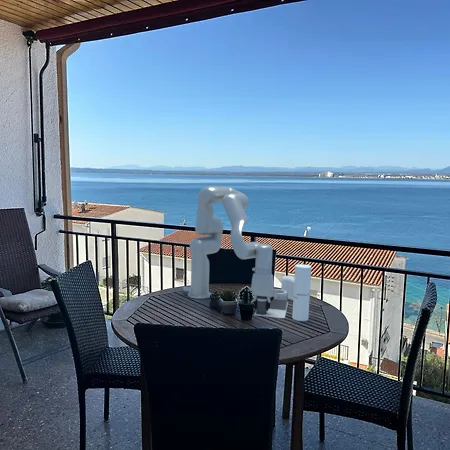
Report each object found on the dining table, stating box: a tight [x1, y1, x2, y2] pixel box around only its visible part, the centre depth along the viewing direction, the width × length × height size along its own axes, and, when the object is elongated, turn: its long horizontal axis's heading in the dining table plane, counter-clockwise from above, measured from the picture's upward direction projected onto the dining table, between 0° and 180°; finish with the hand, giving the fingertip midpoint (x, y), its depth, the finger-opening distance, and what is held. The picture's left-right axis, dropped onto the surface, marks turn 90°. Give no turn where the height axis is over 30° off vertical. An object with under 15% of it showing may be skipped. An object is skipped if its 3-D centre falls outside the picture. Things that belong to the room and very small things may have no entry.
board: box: [253, 301, 289, 319], centre depth 205 cm, size 14×26×1 cm, turn 168°
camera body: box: [267, 288, 289, 311], centre depth 210 cm, size 9×14×7 cm, turn 168°
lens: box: [255, 296, 268, 315], centre depth 197 cm, size 5×5×8 cm
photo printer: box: [280, 275, 295, 301], centre depth 225 cm, size 10×4×12 cm, turn 39°
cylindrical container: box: [291, 263, 312, 322], centre depth 191 cm, size 7×7×25 cm
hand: (261, 309), depth 197 cm, fingers closed on lens, 5 cm apart
